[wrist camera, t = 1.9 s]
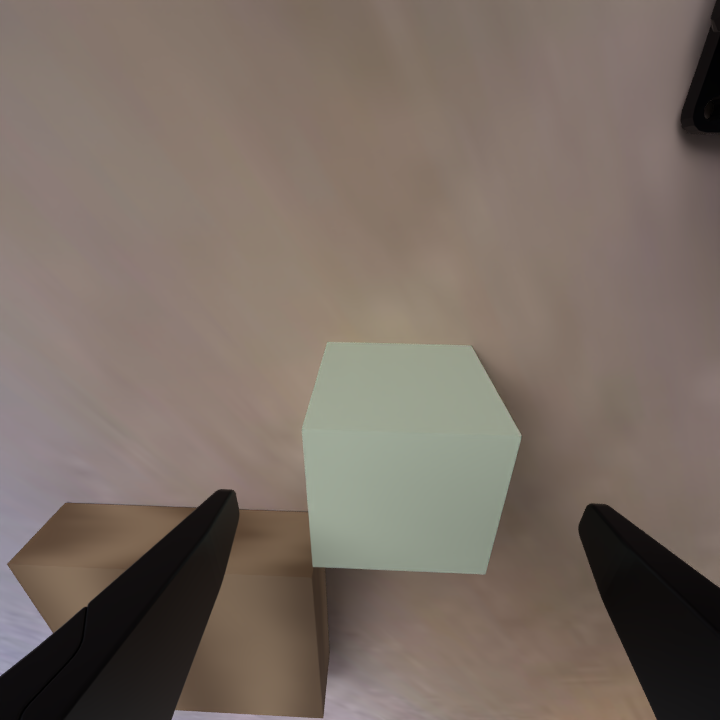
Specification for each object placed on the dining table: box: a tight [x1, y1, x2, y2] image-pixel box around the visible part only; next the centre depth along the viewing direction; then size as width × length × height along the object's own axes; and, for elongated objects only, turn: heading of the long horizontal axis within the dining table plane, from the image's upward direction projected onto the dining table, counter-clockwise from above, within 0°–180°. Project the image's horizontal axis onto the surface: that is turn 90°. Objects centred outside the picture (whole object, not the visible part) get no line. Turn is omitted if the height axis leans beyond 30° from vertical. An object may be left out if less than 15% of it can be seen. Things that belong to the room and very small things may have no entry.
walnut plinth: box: [7, 503, 330, 718], centre depth 18 cm, size 12×12×3 cm
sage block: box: [302, 342, 522, 574], centre depth 12 cm, size 5×5×5 cm
